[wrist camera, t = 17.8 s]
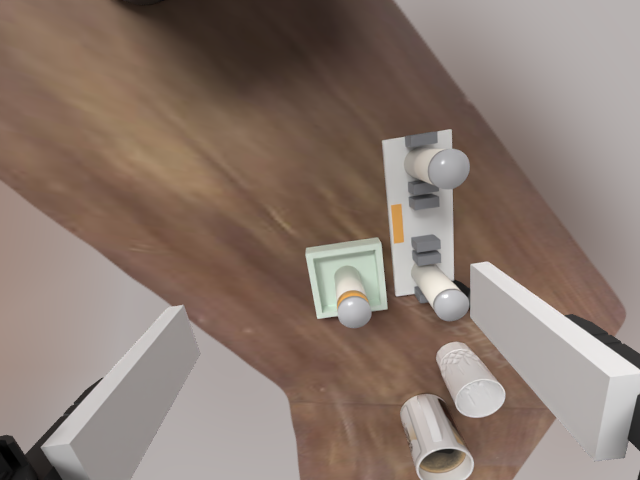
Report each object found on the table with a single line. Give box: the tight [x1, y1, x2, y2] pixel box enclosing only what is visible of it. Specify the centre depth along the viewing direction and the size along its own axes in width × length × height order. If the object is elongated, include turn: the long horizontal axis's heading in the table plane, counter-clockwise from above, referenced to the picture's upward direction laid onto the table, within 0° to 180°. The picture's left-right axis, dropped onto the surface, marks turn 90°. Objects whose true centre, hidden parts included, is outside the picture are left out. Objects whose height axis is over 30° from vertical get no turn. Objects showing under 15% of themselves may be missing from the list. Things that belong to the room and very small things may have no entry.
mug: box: [400, 394, 474, 480], centre depth 55 cm, size 10×12×11 cm
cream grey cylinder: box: [404, 148, 470, 189], centre depth 39 cm, size 4×4×11 cm
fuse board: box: [382, 129, 454, 303], centre depth 46 cm, size 26×10×4 cm, turn 9°
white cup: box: [436, 342, 505, 418], centre depth 52 cm, size 8×8×10 cm
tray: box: [306, 237, 388, 319], centre depth 50 cm, size 12×12×3 cm
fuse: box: [411, 263, 469, 321], centre depth 45 cm, size 4×4×11 cm
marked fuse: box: [334, 265, 371, 328], centre depth 45 cm, size 4×4×11 cm
